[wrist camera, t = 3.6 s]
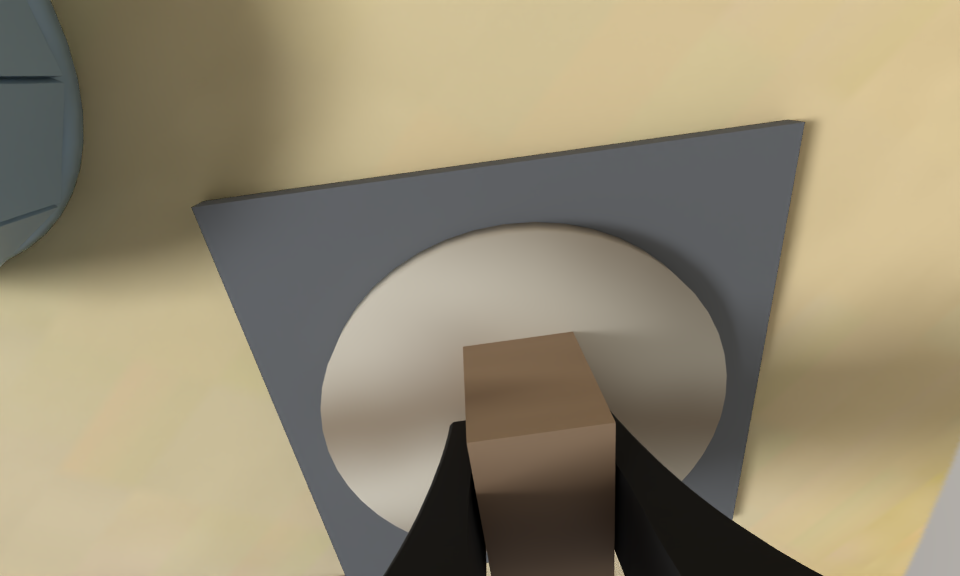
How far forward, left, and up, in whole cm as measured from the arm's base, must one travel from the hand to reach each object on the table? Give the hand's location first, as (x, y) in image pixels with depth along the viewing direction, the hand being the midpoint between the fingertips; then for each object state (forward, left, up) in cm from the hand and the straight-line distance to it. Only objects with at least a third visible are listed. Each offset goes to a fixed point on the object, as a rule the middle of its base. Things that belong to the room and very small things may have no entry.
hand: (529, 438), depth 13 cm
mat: (0, 0, -2) cm, 2 cm away
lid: (0, 0, -1) cm, 1 cm away
